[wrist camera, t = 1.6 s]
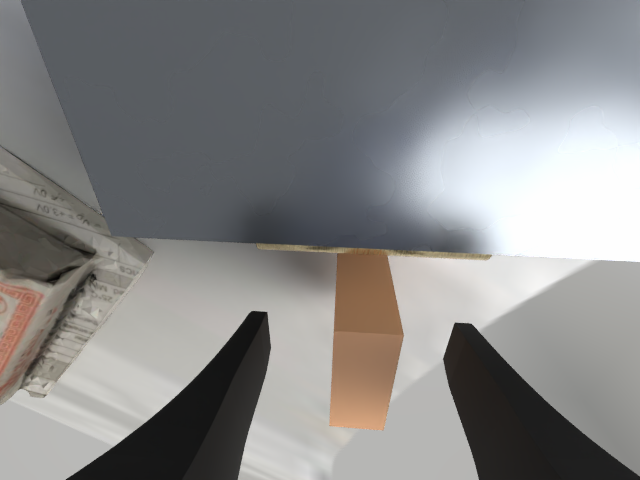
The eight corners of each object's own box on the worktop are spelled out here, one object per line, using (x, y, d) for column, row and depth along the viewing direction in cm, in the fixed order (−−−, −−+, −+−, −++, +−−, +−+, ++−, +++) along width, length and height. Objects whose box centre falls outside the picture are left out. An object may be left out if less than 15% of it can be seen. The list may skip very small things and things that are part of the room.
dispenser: (652, -61, 9) (971, -185, 5) (544, 200, 14) (650, 276, 9) (139, -57, 10) (-40, -156, 5) (191, 187, 15) (117, 250, 10)
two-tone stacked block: (469, 12, 9) (582, -28, 5) (403, 330, 16) (424, 433, 11) (298, 11, 9) (258, -27, 5) (304, 324, 16) (289, 422, 12)
